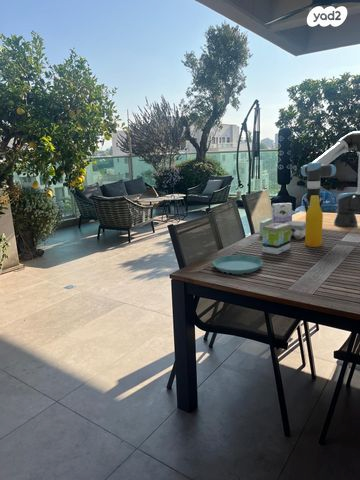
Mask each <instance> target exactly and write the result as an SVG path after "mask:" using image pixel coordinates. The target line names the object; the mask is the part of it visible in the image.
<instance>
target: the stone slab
mask: <svg viewBox="0 0 360 480" xmlns="http://www.w3.org/2000/svg"><path fill="white" fill-rule="evenodd" d="M285 224H291V229H299V230H302V229H304V228H305V227H306V221H300V220H292V221H289V222H287V223H285Z"/></svg>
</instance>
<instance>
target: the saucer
mask: <svg viewBox="0 0 360 480" xmlns="http://www.w3.org/2000/svg"><path fill="white" fill-rule="evenodd" d="M263 263H264V261H263V260H262V259H261V258H260V257H258V256H253V255H250V254H249V255H248V254H231V255H225V256H220V257H217V258H216V259H214V260H213V263H212V264H213V266H214V267H215V268H216V270H218V271H219V270H220V271H219V272H221V271H222V272H221V273H224V272H226V273H225V274H229V273H232V274H231V275H245V274H244V273H246V274H251V273H254V272H256V271H257V270H259V269H260V268H261V267H262V266H263V265H264V264H263ZM219 267H222V268H225V269H222V268H219ZM226 268H227V269H226ZM228 269H230V270H228Z"/></svg>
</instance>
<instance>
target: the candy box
mask: <svg viewBox="0 0 360 480" xmlns="http://www.w3.org/2000/svg"><path fill="white" fill-rule="evenodd" d="M271 207H272V209H271V211H272V214H271V215H272V216H271V218H273V224H274V223H284V224H285V223H286V222H289V221H293V203H291V202H279V203H272V205H271Z"/></svg>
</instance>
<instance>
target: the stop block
mask: <svg viewBox="0 0 360 480" xmlns="http://www.w3.org/2000/svg"><path fill="white" fill-rule="evenodd" d="M271 224H273V218H272V217H270V218H269V217H268V218H266V219H264V220H262V221H260V222H259V237H263V227H264V226H268V225H271Z"/></svg>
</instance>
